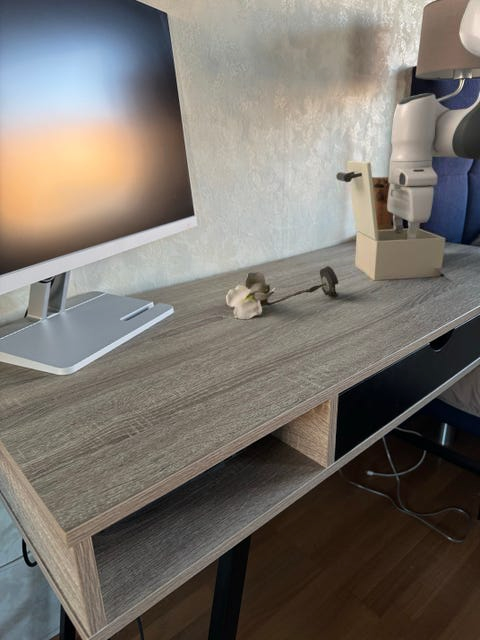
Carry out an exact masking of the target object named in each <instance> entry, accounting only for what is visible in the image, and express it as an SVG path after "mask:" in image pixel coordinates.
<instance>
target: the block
mask: <svg viewBox="0 0 480 640" xmlns="http://www.w3.org/2000/svg"><path fill="white" fill-rule="evenodd" d="M388 180H389V176H378V177H376V176H375V177H373V176H372V181H373V191H374V200H375V210H376V219H377V228H378V230H390V229H394V221H393V213H391V212H389V211H388V209H387V202H388V193H389V187H390V183H388Z"/></svg>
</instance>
